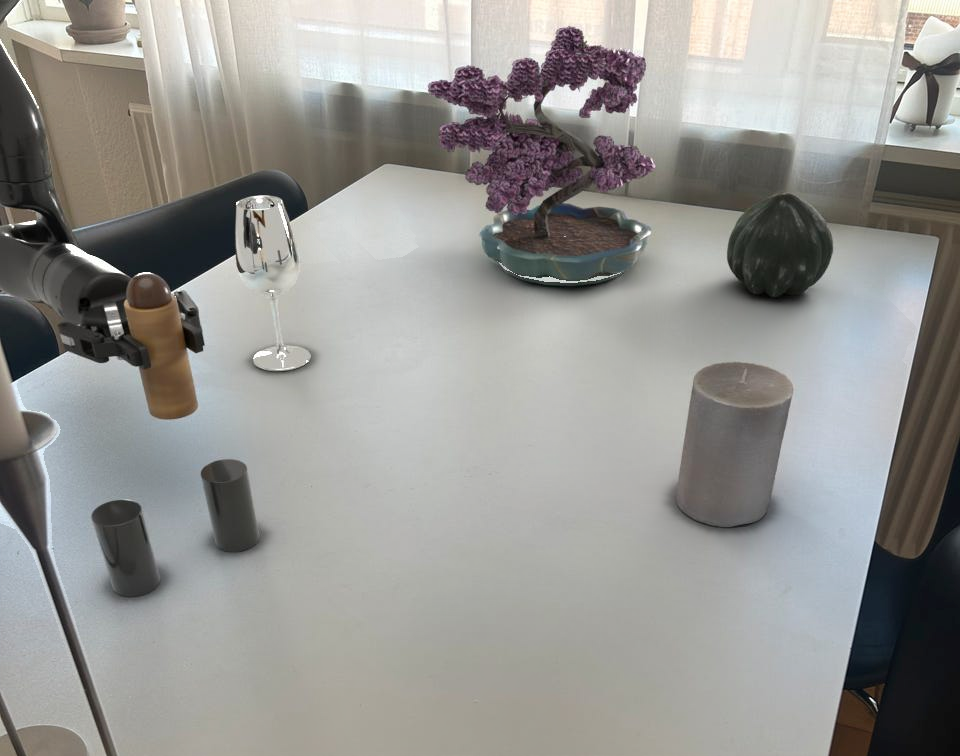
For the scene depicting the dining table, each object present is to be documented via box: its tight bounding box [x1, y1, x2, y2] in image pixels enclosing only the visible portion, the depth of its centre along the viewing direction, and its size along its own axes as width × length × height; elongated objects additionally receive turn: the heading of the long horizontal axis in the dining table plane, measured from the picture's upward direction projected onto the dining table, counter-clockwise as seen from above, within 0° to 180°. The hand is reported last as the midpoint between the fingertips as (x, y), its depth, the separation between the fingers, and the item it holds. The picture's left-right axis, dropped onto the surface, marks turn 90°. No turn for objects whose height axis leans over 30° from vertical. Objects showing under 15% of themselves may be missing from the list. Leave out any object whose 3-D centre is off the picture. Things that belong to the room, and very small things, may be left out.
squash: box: [726, 191, 834, 298], centre depth 147 cm, size 14×15×15 cm
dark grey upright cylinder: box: [90, 499, 161, 598], centre depth 93 cm, size 4×4×8 cm
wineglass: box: [234, 195, 312, 372], centre depth 126 cm, size 8×8×20 cm
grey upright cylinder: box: [200, 458, 260, 553], centre depth 98 cm, size 4×4×8 cm
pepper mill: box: [124, 272, 199, 421], centre depth 96 cm, size 5×5×14 cm
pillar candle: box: [675, 361, 794, 528], centre depth 101 cm, size 10×10×15 cm
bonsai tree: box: [427, 25, 657, 287], centre depth 148 cm, size 35×27×32 cm
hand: (172, 350), depth 94 cm, fingers closed on pepper mill, 5 cm apart
